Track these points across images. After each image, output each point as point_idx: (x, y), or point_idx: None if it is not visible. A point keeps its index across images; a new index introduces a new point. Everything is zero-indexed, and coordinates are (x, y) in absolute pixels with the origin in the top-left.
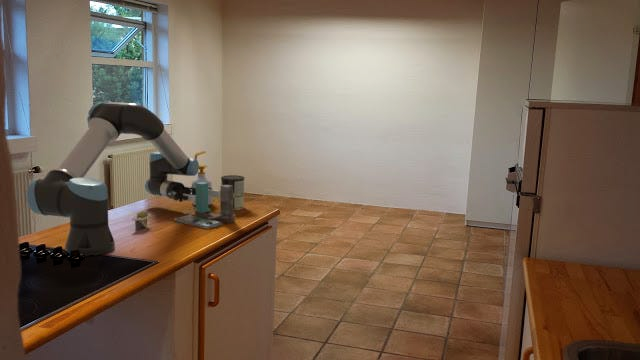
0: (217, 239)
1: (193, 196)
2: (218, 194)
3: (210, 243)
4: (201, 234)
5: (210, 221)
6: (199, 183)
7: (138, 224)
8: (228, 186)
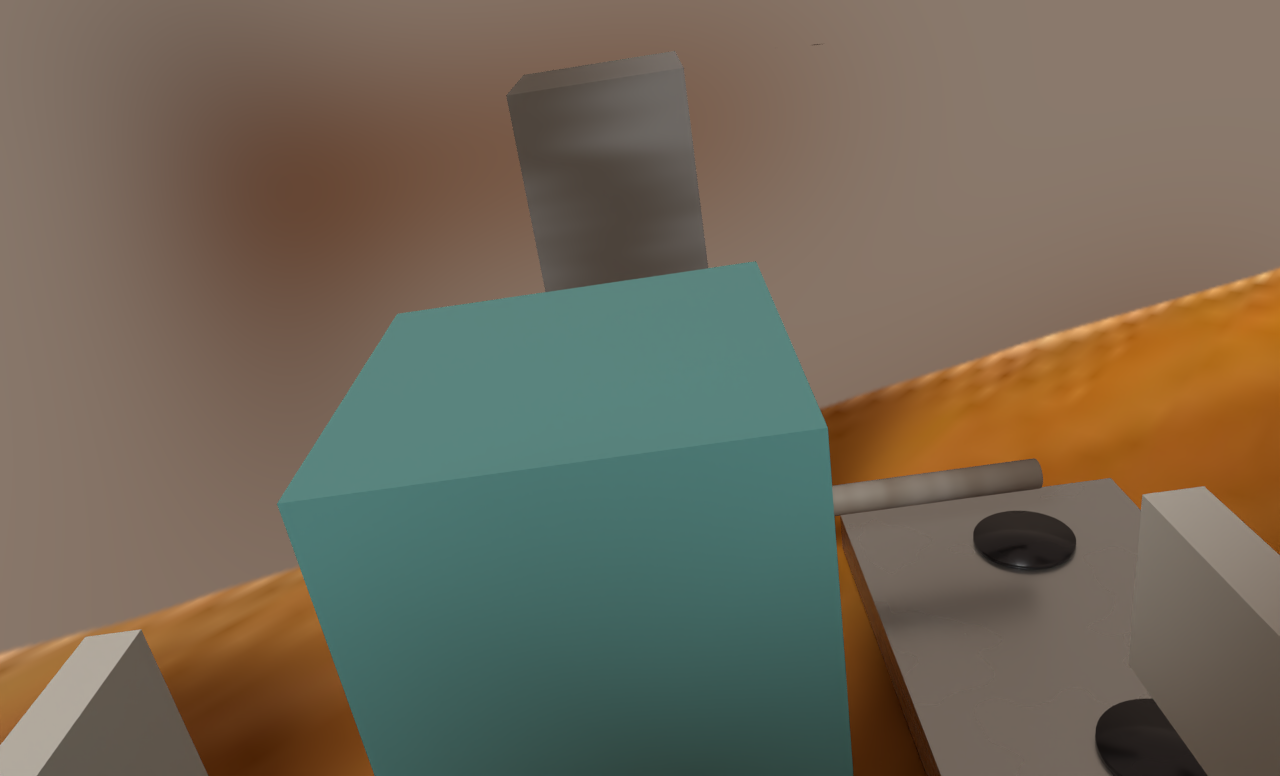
0: (1135, 323)
1: (1207, 508)
2: (166, 708)
3: (1234, 290)
4: (1247, 424)
5: (951, 603)
6: (744, 326)
7: None
8: (624, 60)
